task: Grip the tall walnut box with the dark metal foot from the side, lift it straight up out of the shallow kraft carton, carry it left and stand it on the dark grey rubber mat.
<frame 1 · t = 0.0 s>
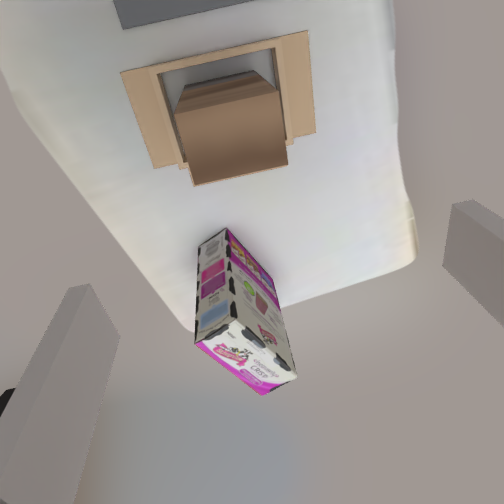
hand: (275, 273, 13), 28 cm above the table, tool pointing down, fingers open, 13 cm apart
carton: (225, 104, 35), on the table
walnut box: (225, 104, 35), resting in carton
candy bar box: (236, 263, 47), on the table
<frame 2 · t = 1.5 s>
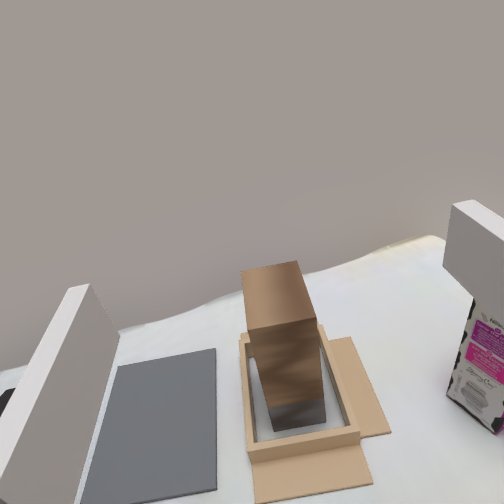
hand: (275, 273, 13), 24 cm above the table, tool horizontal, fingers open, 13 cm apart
carton: (292, 393, 35), on the table
mat: (159, 418, 36), on the table
walnut box: (292, 393, 35), resting in carton
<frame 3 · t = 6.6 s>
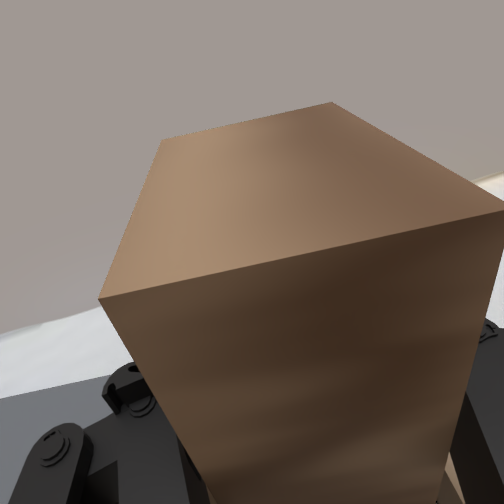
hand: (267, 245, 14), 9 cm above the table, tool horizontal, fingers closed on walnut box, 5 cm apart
carton: (317, 475, 15), on the table
walnut box: (317, 475, 15), resting in carton, touching gripper
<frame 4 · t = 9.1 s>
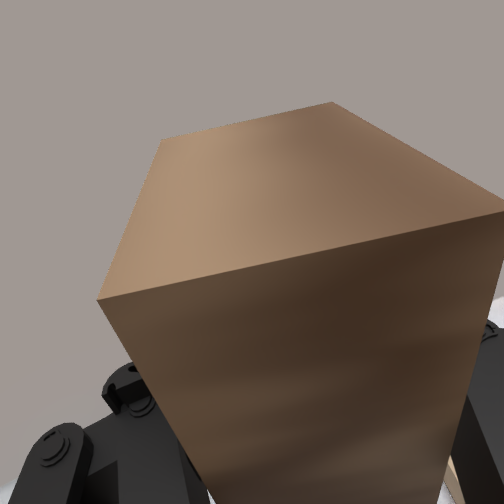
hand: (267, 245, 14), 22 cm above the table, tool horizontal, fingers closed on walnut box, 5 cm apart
walnut box: (317, 476, 15), point 13 cm above the table, touching gripper
when the fingers open (10 cm above the table, at t = 11.6 s): walnut box drops 1 cm, resting on mat.
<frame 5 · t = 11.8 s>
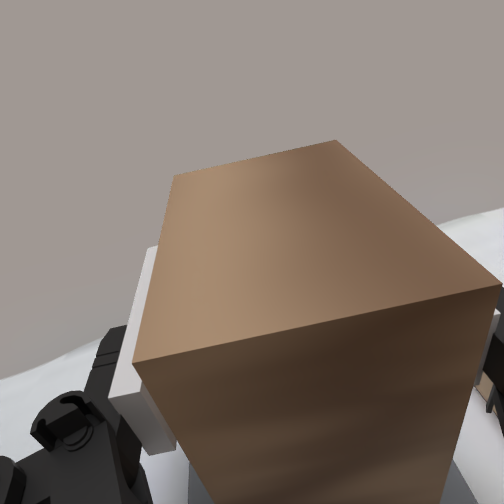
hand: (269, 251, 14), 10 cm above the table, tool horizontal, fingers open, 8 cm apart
mat: (319, 490, 15), on the table
walnut box: (320, 488, 15), resting on mat
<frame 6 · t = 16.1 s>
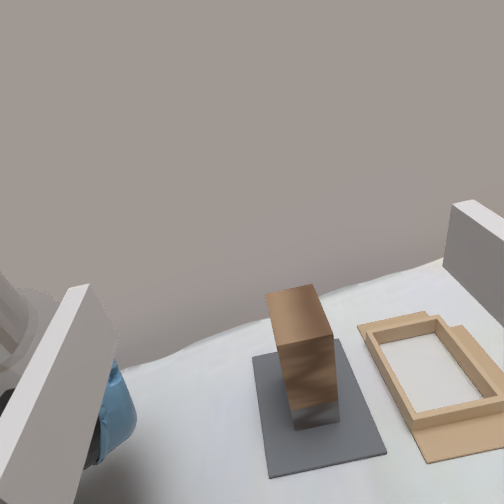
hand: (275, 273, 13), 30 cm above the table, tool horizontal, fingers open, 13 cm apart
carton: (425, 374, 41), on the table
mat: (309, 399, 41), on the table
walnut box: (309, 397, 40), resting on mat
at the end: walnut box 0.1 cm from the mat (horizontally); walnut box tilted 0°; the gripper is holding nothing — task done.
